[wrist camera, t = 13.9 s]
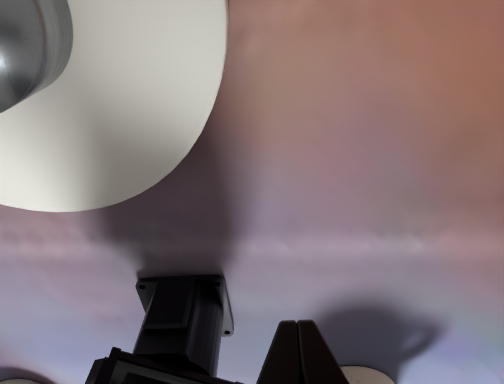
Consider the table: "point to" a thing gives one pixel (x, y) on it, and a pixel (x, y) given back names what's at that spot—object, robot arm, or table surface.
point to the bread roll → (19, 381)
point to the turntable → (116, 104)
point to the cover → (32, 47)
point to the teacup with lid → (365, 375)
